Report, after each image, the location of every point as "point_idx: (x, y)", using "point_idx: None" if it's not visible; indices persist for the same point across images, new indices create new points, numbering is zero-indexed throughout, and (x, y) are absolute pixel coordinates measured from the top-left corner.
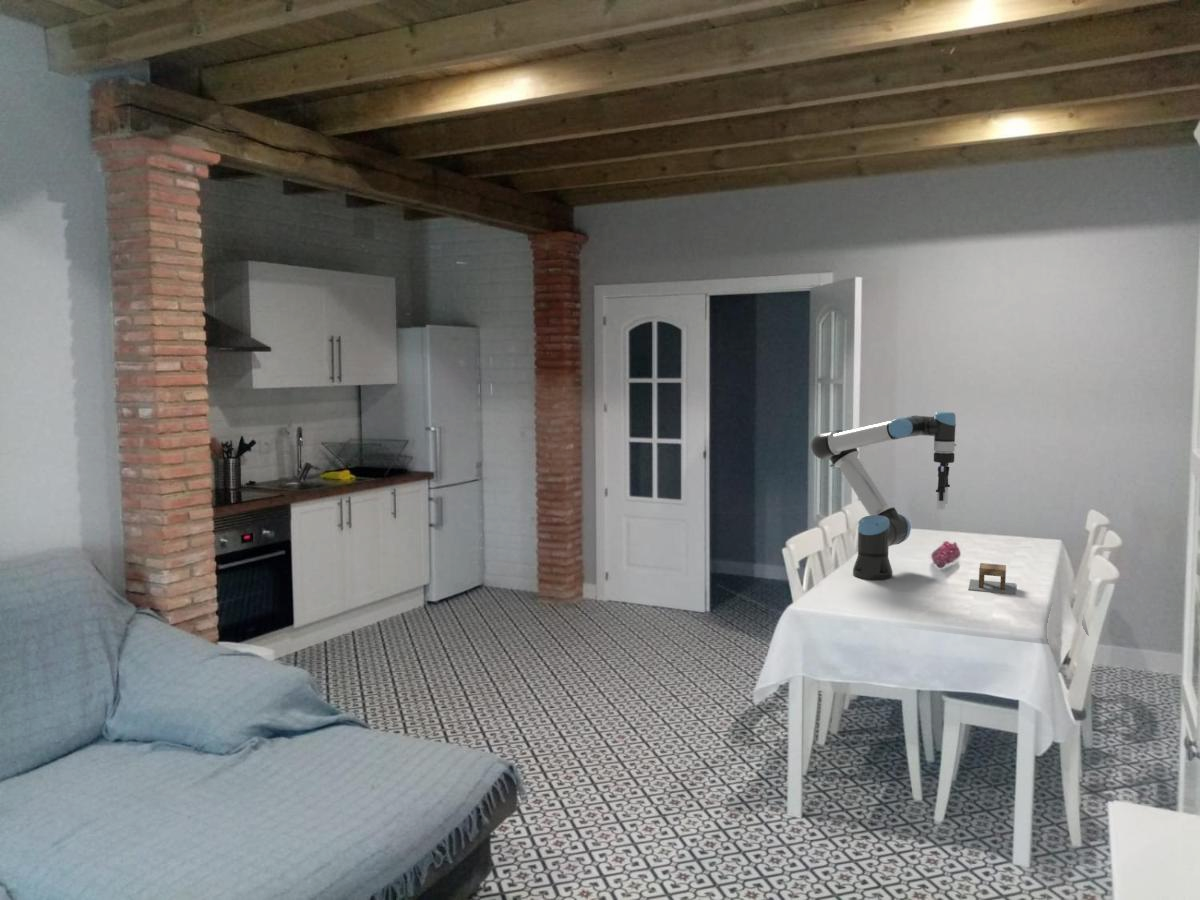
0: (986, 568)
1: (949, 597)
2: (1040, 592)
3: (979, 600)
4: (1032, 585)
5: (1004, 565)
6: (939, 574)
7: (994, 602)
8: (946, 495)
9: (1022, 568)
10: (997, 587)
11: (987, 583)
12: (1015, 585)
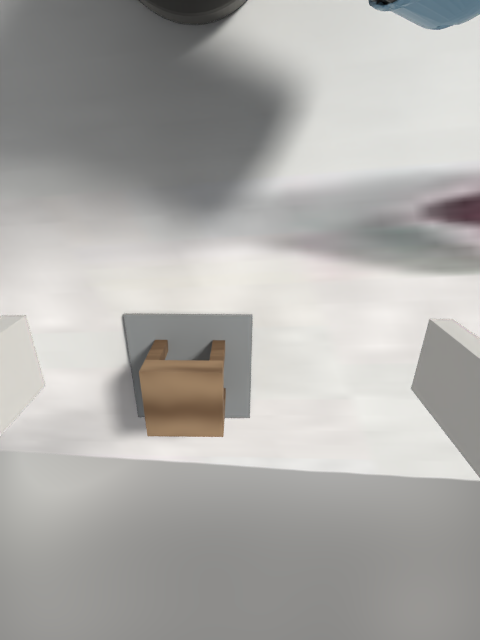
0: (143, 390)
1: (10, 267)
2: (194, 457)
3: None
4: (260, 445)
5: (215, 433)
6: (311, 217)
7: None
8: (475, 455)
9: None
10: None
11: None
12: (225, 417)
